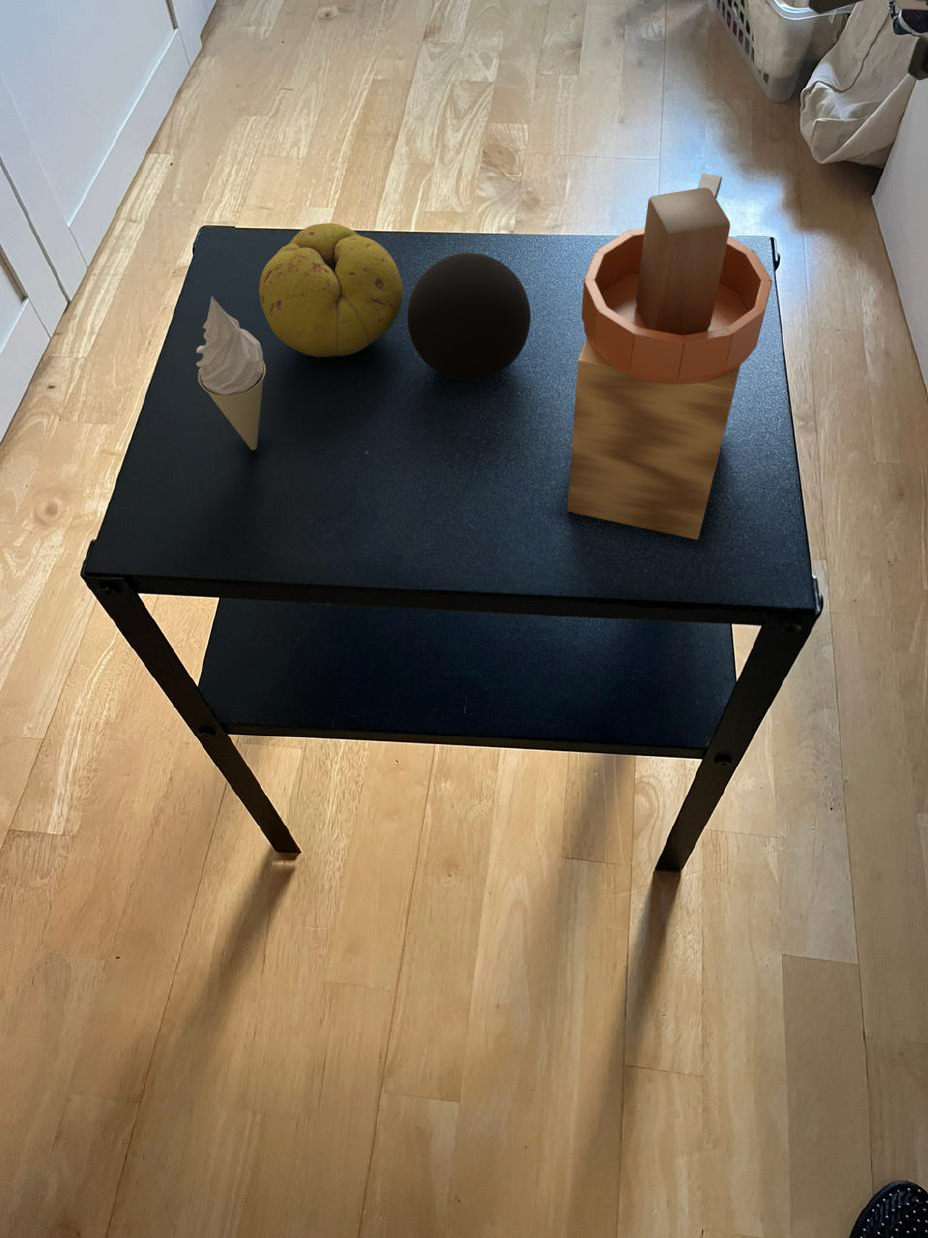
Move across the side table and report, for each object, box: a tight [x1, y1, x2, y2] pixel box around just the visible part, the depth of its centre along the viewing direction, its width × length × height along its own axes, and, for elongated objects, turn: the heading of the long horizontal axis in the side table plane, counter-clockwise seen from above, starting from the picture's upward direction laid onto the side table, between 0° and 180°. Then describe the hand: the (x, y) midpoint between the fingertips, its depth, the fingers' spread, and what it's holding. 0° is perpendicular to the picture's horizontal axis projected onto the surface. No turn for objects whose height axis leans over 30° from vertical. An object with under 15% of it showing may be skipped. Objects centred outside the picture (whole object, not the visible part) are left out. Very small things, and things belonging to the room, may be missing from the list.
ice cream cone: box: [196, 295, 267, 451], centre depth 78 cm, size 5×5×15 cm
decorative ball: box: [407, 252, 532, 382], centre depth 85 cm, size 10×10×10 cm
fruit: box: [258, 222, 404, 358], centre depth 87 cm, size 11×12×10 cm
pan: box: [581, 173, 773, 384], centre depth 69 cm, size 18×11×4 cm, turn 162°
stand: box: [566, 337, 742, 541], centre depth 75 cm, size 10×10×15 cm
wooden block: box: [636, 187, 731, 335], centre depth 65 cm, size 4×4×8 cm
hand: (863, 24), depth 57 cm, fingers open, 8 cm apart
